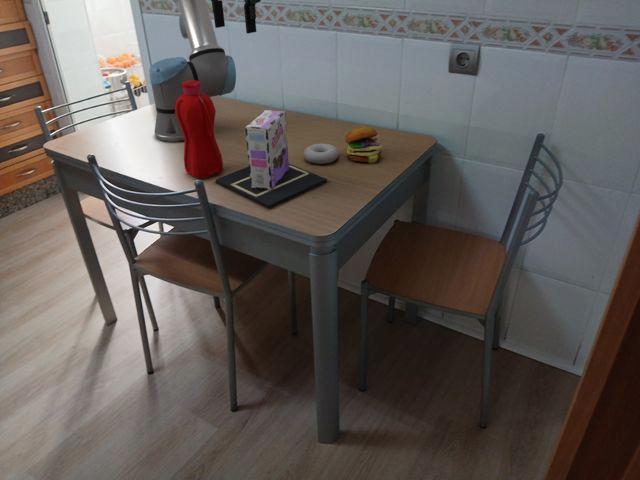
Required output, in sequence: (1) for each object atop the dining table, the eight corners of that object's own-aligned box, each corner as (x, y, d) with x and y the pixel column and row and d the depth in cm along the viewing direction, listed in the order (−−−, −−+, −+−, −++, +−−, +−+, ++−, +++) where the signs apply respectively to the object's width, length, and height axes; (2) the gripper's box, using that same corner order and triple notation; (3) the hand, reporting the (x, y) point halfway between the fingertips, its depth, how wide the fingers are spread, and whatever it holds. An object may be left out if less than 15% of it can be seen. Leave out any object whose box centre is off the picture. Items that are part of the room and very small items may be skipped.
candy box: (272, 191, 131) (266, 128, 122) (250, 188, 133) (243, 126, 124) (290, 169, 142) (286, 110, 134) (269, 167, 144) (264, 108, 135)
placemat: (215, 182, 139) (215, 179, 138) (272, 160, 151) (272, 156, 150) (269, 209, 125) (268, 205, 125) (327, 182, 137) (327, 178, 137)
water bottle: (205, 184, 138) (190, 89, 125) (181, 173, 145) (164, 82, 131) (232, 173, 144) (220, 81, 131) (208, 162, 150) (195, 74, 137)
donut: (297, 162, 149) (327, 168, 144) (296, 151, 147) (326, 156, 143) (316, 150, 156) (345, 156, 152) (315, 139, 155) (344, 144, 150)
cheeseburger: (359, 167, 144) (354, 131, 141) (340, 163, 153) (336, 129, 150) (389, 159, 148) (385, 124, 145) (369, 155, 157) (365, 122, 154)
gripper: (184, -63, 132) (196, 26, 143) (245, -63, 117) (254, 37, 128) (208, -64, 136) (219, 22, 148) (270, -64, 121) (277, 32, 132)
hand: (235, 29), depth 138 cm, fingers open, 13 cm apart
